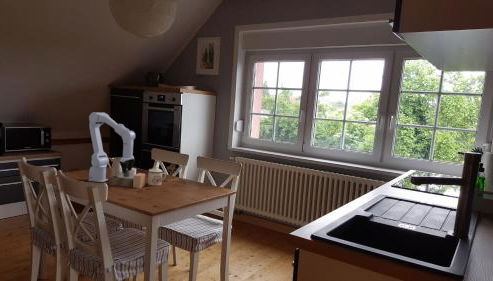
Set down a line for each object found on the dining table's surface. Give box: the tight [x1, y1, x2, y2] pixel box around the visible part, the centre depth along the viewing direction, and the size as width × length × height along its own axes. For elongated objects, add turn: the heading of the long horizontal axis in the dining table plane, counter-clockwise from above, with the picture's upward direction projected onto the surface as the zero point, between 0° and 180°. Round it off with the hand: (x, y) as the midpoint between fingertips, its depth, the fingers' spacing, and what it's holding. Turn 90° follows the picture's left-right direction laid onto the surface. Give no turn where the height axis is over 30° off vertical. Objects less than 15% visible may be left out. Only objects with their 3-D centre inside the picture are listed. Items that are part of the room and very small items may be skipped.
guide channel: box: [108, 175, 133, 188], centre depth 218 cm, size 15×6×4 cm, turn 86°
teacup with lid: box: [147, 166, 167, 187], centre depth 227 cm, size 12×9×12 cm
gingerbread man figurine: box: [164, 163, 180, 183], centre depth 241 cm, size 9×4×12 cm, turn 129°
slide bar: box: [117, 170, 134, 180], centre depth 217 cm, size 14×3×7 cm, turn 86°
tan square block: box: [132, 172, 146, 189], centre depth 217 cm, size 4×8×8 cm, turn 176°
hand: (126, 171), depth 217 cm, fingers open, 7 cm apart
